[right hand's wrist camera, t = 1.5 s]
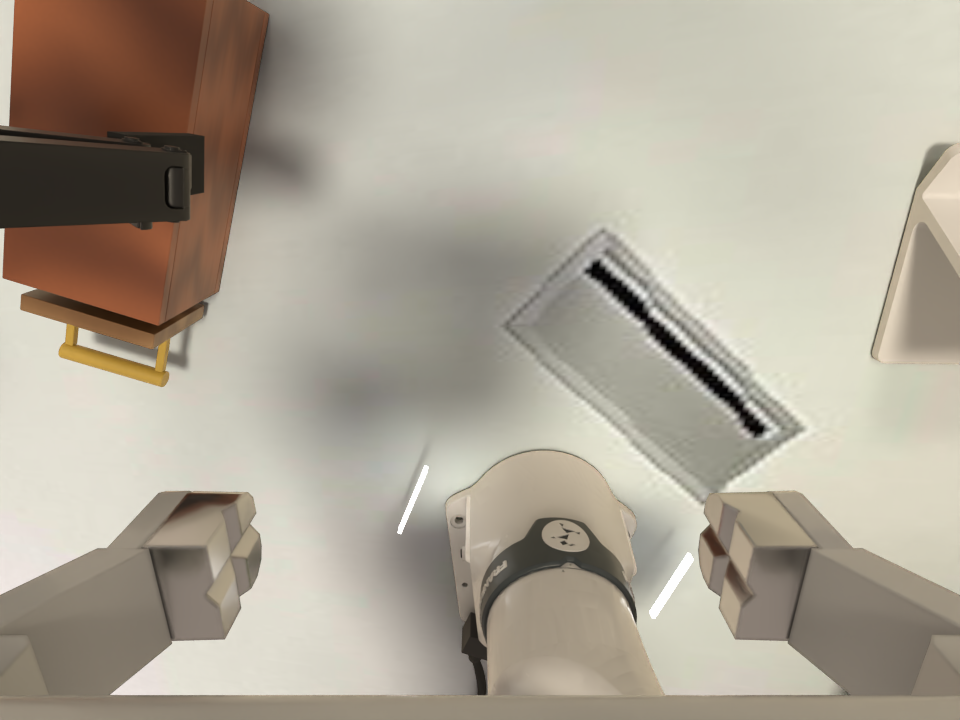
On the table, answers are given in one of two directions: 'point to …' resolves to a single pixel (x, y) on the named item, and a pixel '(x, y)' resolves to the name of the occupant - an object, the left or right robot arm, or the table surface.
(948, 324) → the tablet stand
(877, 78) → the table surface
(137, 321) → the drawer
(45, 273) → the cabinet
